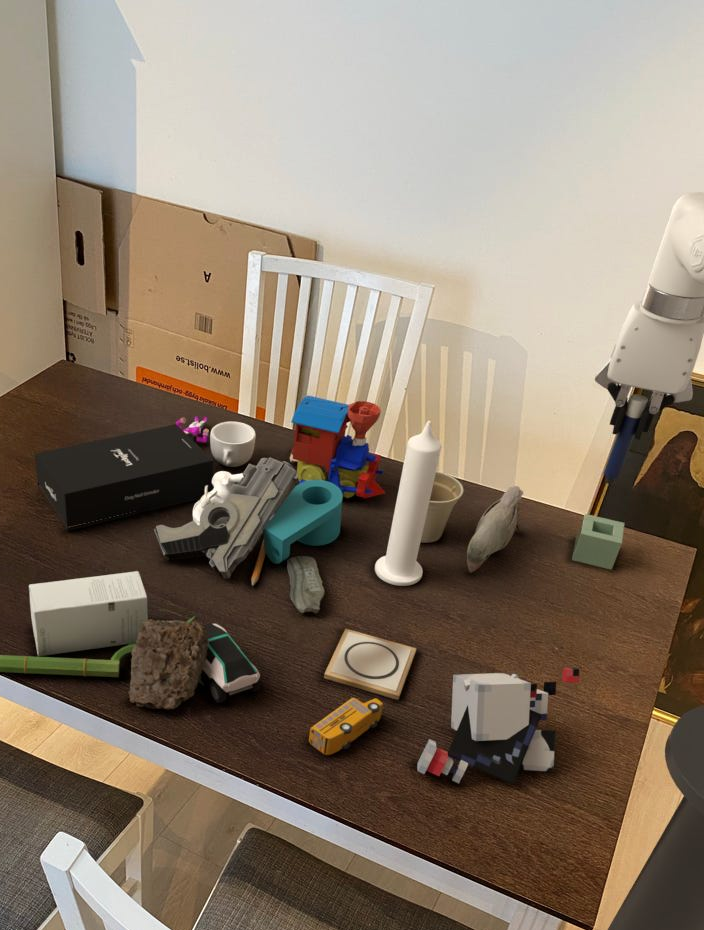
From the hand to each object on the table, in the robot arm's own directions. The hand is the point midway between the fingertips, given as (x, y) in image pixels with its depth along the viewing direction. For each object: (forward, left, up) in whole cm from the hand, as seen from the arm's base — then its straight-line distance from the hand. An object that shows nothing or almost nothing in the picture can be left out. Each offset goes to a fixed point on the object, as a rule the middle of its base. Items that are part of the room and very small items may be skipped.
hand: (626, 431), depth 130 cm
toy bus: (+21, +51, -21) cm, 59 cm away
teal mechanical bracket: (+38, +15, -19) cm, 45 cm away
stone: (+34, +24, -21) cm, 47 cm away
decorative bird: (+14, +3, -22) cm, 26 cm away
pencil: (+47, +9, -22) cm, 53 cm away
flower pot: (+24, +3, -22) cm, 33 cm away
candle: (+25, +15, -22) cm, 37 cm away
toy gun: (+59, +18, -15) cm, 64 cm away
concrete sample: (+46, +53, -16) cm, 72 cm away
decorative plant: (+72, +57, -19) cm, 94 cm away
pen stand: (-2, -3, -22) cm, 23 cm away
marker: (0, 0, -8) cm, 8 cm away
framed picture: (+24, +37, -22) cm, 49 cm away
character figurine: (+68, -8, -22) cm, 72 cm away
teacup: (+59, -3, -22) cm, 63 cm away
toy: (+13, +44, -16) cm, 49 cm away
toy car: (+42, +46, -22) cm, 66 cm away
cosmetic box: (+54, +42, -18) cm, 71 cm away
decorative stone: (+47, -14, -22) cm, 53 cm away
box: (+71, +13, -22) cm, 76 cm away
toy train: (+40, -4, -22) cm, 46 cm away
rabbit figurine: (+54, +15, -22) cm, 60 cm away
